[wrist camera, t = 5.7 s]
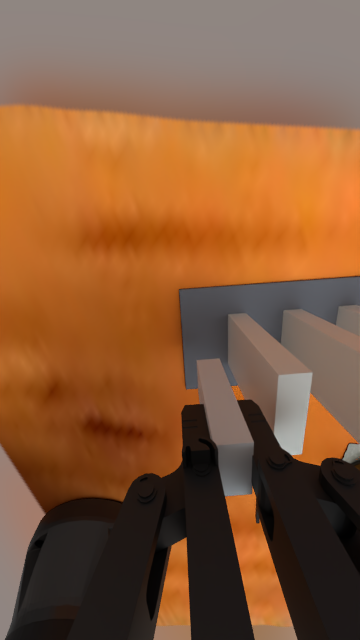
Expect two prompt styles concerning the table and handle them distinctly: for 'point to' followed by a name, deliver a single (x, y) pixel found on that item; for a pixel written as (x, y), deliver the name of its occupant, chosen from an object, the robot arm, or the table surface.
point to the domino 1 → (270, 379)
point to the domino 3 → (349, 318)
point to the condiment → (353, 455)
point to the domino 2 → (327, 364)
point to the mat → (253, 313)
